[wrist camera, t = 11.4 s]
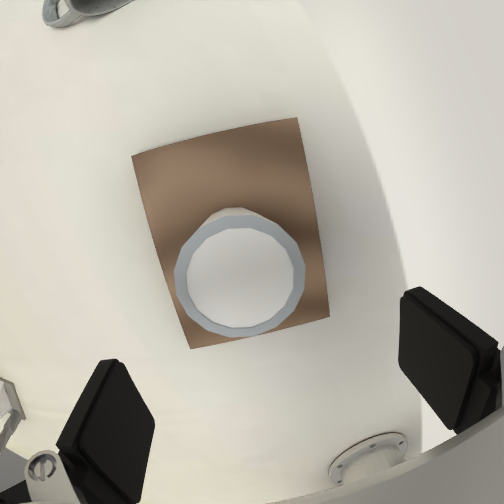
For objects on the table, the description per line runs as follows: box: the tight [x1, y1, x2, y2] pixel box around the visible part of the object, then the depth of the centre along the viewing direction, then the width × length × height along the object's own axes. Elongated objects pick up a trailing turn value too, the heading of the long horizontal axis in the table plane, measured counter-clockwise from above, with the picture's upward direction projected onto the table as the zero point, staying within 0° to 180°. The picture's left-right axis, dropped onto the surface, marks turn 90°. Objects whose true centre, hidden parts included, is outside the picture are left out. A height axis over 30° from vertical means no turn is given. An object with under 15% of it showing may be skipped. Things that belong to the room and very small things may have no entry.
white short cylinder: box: [174, 207, 305, 337], centre depth 19 cm, size 7×7×7 cm
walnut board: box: [131, 117, 330, 349], centre depth 23 cm, size 16×12×2 cm
